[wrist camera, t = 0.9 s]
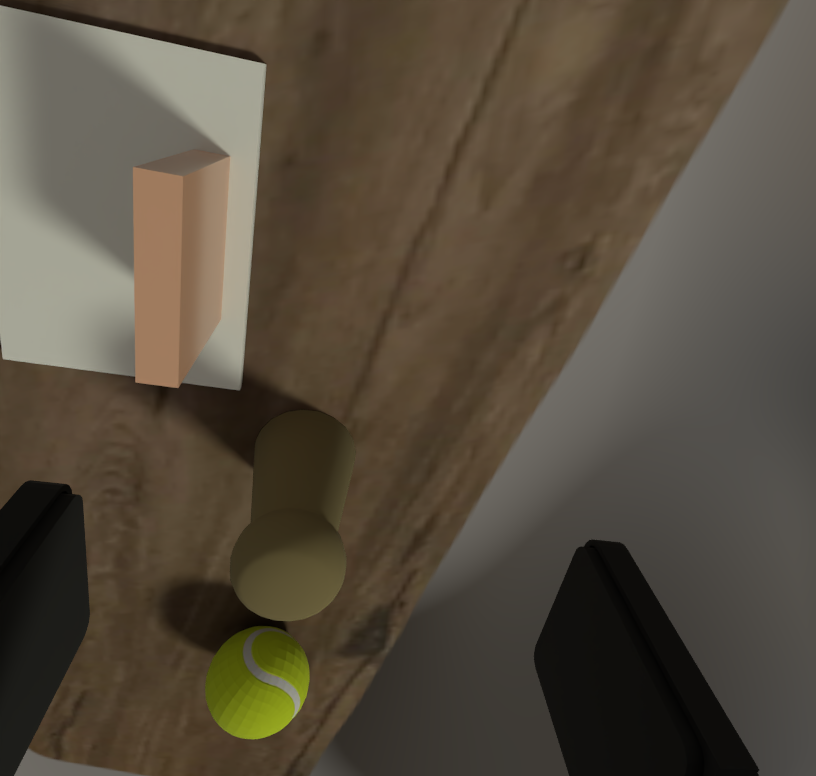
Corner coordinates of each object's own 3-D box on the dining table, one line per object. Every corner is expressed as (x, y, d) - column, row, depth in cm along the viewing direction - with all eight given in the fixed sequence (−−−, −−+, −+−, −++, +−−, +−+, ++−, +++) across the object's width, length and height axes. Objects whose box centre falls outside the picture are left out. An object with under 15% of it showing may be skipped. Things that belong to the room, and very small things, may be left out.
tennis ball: (328, 620, 41) (323, 709, 35) (290, 678, 43) (280, 771, 37) (237, 592, 39) (216, 681, 33) (204, 655, 41) (178, 748, 35)
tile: (190, 148, 26) (128, 166, 19) (230, 155, 26) (183, 176, 19) (186, 313, 29) (131, 381, 22) (221, 319, 30) (178, 388, 23)
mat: (-32, -2, 23) (-41, -4, 23) (266, 64, 25) (264, 63, 25) (9, 354, 30) (2, 359, 30) (241, 385, 32) (239, 390, 32)
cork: (244, 482, 35) (200, 630, 25) (266, 398, 33) (227, 526, 23) (340, 503, 36) (334, 652, 26) (368, 423, 34) (373, 555, 24)
